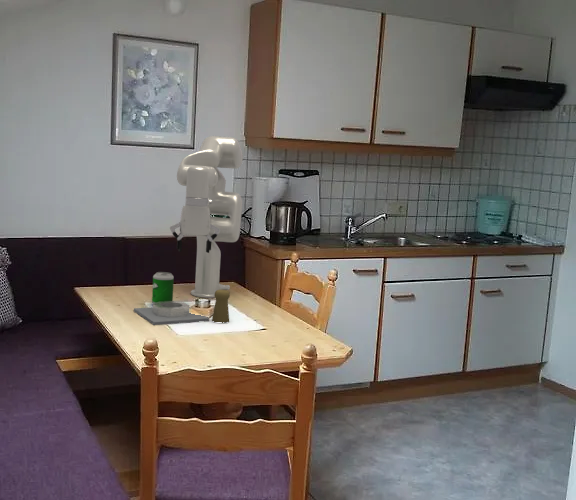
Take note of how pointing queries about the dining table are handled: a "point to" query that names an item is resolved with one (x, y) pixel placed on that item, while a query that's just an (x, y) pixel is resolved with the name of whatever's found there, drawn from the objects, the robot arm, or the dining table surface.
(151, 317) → the slate board
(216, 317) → the cork
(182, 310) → the steel collar
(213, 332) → the dining table surface
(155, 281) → the soda can
